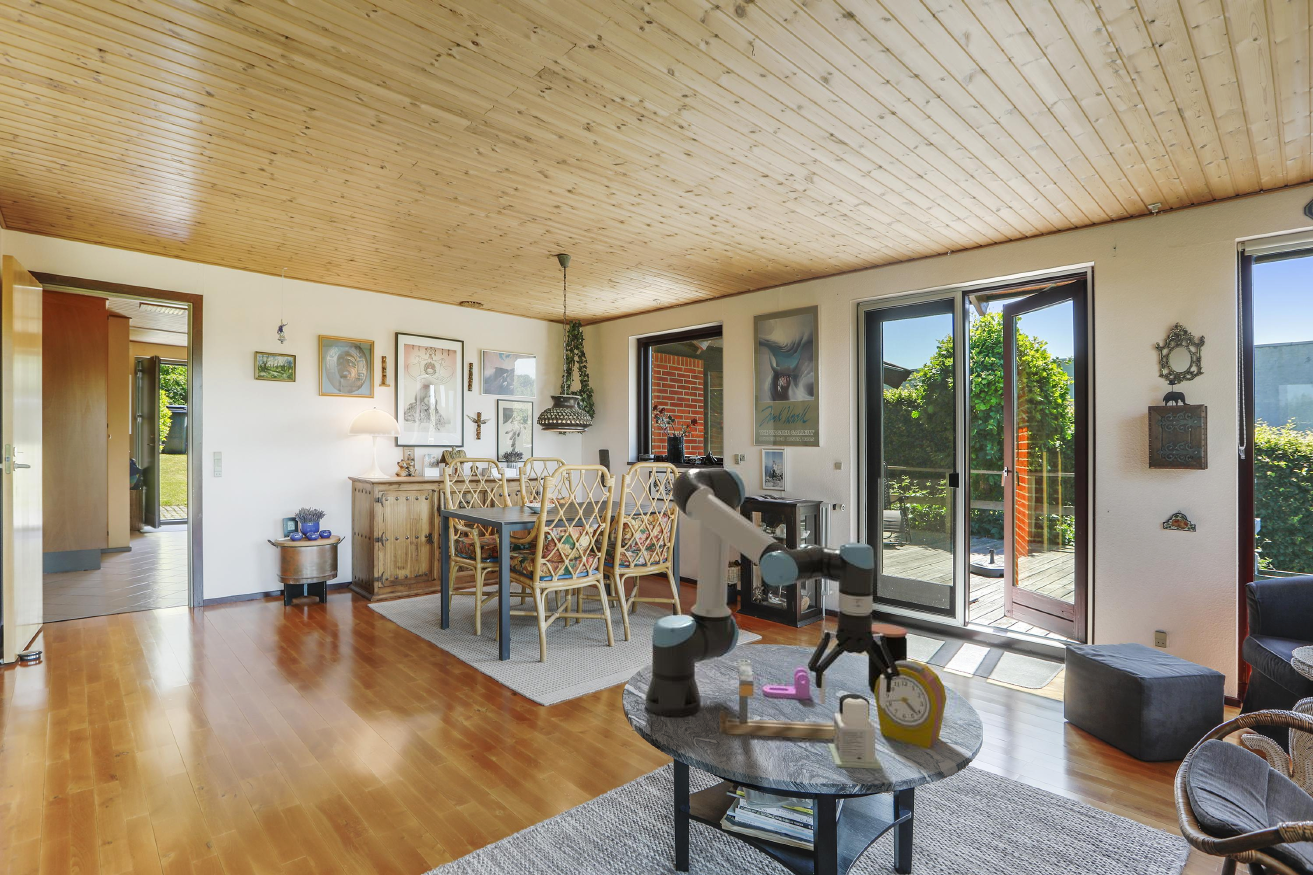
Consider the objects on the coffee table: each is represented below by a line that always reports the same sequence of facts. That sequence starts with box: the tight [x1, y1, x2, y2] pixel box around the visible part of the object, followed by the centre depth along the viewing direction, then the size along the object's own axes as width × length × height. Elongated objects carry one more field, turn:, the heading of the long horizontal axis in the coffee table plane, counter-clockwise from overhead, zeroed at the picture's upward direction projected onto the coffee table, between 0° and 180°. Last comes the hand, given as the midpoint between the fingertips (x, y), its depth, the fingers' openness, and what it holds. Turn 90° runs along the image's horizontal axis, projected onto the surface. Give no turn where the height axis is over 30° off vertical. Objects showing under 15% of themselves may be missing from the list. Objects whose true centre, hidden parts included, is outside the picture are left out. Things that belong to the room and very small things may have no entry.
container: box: [833, 693, 876, 763], centre depth 146 cm, size 8×8×13 cm
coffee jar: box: [867, 623, 908, 693], centre depth 188 cm, size 11×11×18 cm
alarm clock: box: [873, 660, 947, 749], centre depth 157 cm, size 15×8×18 cm, turn 50°
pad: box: [827, 743, 883, 770], centre depth 146 cm, size 10×10×1 cm
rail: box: [719, 711, 834, 740], centre depth 158 cm, size 32×3×4 cm, turn 85°
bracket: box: [762, 667, 811, 700], centre depth 184 cm, size 13×6×7 cm, turn 83°
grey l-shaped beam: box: [737, 658, 754, 722], centre depth 152 cm, size 3×15×15 cm, turn 175°
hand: (852, 703), depth 147 cm, fingers open, 13 cm apart
